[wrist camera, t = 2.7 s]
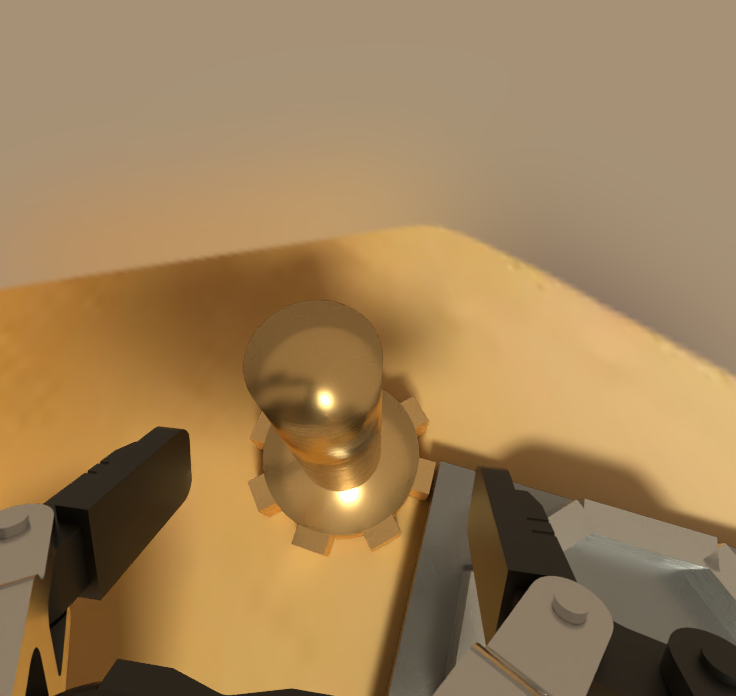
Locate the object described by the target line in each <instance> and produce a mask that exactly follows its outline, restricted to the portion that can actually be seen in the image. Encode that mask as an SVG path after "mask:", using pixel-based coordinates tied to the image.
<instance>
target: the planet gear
mask: <svg viewBox="0 0 736 696" xmlns="http://www.w3.org/2000/svg"><path fill="white" fill-rule="evenodd" d="M382 368H383V356H382V347H381V343H380V340H379V337H378V335H377V333H376V331H375V329H374V328H373V326H372V325H371V324H370V322H369V321H368V320H367V319H366V318H365V317H364V316H363V315H361V314H360V313H359V312H357V311H356V310H354V309H352V308H350V307H348V306H346V305H343V304H340V303H337V302H332V301H325V300H311V301H304V302H299V303H295V304H292V305H290V306H287V307H285V308H283V309H281V310H279V311H277V312H276V313H274V314H273V315H271V316H270V317H269V318H267V319H266V320H265V321H264V322H263V323H262V324H261V325H260V326H259V327H258V329H257V330H256V331H255V333H254V334H253V336H252V337H251V339H250V341H249V343H248V346H247V348H246V352H245V355H244V363H243V371H244V378H245V382H246V385H247V388H248V390H249V392H250V394H251V396H252V397H253V398H254V400H255V401H256V403H257V404H258V406H259V407H260V408H261V410H262V412H261V414H260V416H259V419H258V421H257V423H256V425H255V427H254V430H253V432H252V434H251V436H250V440H251V441H252V442H253V443H254V444H255V445H256V446H257V447H258V448H259V449H260V450H263V471H264V473H263V474H262V475H260V476H258V477H256V478H254V479H252V480H250V481H248V484H249V487H250V490H251V492H252V495H253V497H254V500H255V503H256V505H257V508H258V511H259V512H260V513H262V514H264V515H266V516H268V517H270V516H272V515H274V514H276V513H277V512H279V511H281V510H282V511H283V512H284V513H285V514H286V515H287V516H288V517H289V518H291V519H292V520H293V521H294V522H296V523H298V527H297V530H296V533H295V535H294V538H293V541H292V544H294V545H296V546H299V547H302V548H305V549H308V550H310V551H313V552H316V553H319V554H322V555H325V556H328V557H329V554H330V551H331V547H332V544H333V541H334V538H335V539H350V538H355V537H360V536H363V535H364V537H365V539H366V541H367V543H368V545H369V547H370V549H371V551H372V552H373V551H375V550H377V549H378V548H380V547H382V546H383V545H385V544H387V543H389V542H390V541H392V540H394V539H395V538H397V537H399V536H400V534H401V530H400V528H399V526H398V524H397V523H396V521H395V519H394V516H395V515H396V514H397V513H398V512H399V511H400V509H401V508H402V506H403V505H404V503H405V502H406V500H407V498H408V496H411V497H414V498H417V499H420V500H424V501H425V500H426V498H427V496H428V495H429V492H430V487H431V483H432V478H433V474H434V470H435V465H436V462H433V461H430V460H426V459H423V458H419V443H418V438H417V437H418V436H420V435H422V434H423V433H425V432H426V429H427V426H428V422H429V420H428V418H427V417H426V415H425V414H424V412H423V410H422V409H421V407H420V406H419V404H418V402H417V401H416V399H415V398H414V396H413V397H411V398H409V399H407V400H405V401H403V402H401V403H399V402H398V401H397V399H395V398H394V397H393V396H392V395H391V394H389V393H388V392H386V391H385V390H383V389H382Z"/></svg>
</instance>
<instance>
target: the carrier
mask: <svg viewBox="0 0 736 696" xmlns="http://www.w3.org/2000/svg"><path fill="white" fill-rule="evenodd" d="M475 473H476V471H473V470H470V469H466V468H463V467H459V466H456V465H453V464H449V463H446V462H443V461H441V462H440V464H439V465H438V468H437V472H436V477H435V481H434V485H433V490H432V494H431V499H430V503H429V508H428V512H427V517H426V521H425V525H424V530H423V534H422V539H421V543H420V548H419V552H418V557H417V561H416V565H415V570H414V574H413V579H412V583H411V588H410V592H409V597H408V601H407V606H406V610H405V614H404V619H403V623H402V628H401V632H400V637H399V641H398V646H397V650H396V654H395V659H394V663H393V668H392V672H391V677H390V681H389V686H388V690H387V695H386V696H433V694H434V693H435V692H436V690H437V689H438V688H439V687H440V685H441V684H442V683H443V681H444V680H445V679H446V677H447V676H448V675H449V674H450V672H451V671H452V670H453V668H454V667H455V666H456V664H457V663H458V662H459V661H460V659H461V658H462V657H463V655H464V654H465V653H466V652H467V650H468V649H469V648H470V647H471V646H472V645H473V644H475V643H480V644H481V645H482V646H483V647H486V644H485V638H484V632H483V626H482V620H481V614H480V608H479V602H478V596H477V590H476V584H475V578H474V572H473V566H472V560H471V554H470V549H469V543H468V515H469V509H470V503H471V497H472V491H473V485H474V478H475ZM513 484H514V487H515V490H523V491H528V492H529V493H530V494H531V495H532V496H533V497H534V498H535V499H536V500H537V501H538V502H539V503H540V504H541V505H542V506H543V508H544V510H545V513H546V515H547V517H548V519H549V523H550V524H551V526H552V528H553V530H554V532H555V536H556V537H557V539H558V541H559V543H560V545H561V548H562V550H563V552H564V554H565V556H566V559H567V561H568V563H569V565H570V567H571V570H572V572H573V574H574V576H575V578H576V581H577V583H579V584H580V585H582V586H584V587H585V588H587V589H589V590H590V591H591V592H592V593H594V594H595V595H596V596H597V597H598V598H599V599H600V600H601V601H602V602H603V603H604V605H605V606H606V607H607V609H608V610H609V612H610V614H611V617H612V620H613V621H614V622H616V623H618V624H620V625H622V626H624V627H626V628H628V629H630V630H633V631H635V632H638V633H640V634H643V635H645V636H648V637H650V638H653V639H655V640H658V641H660V642H663V643H665V644H667V643H668V640H669V637H670V635H671V633H672V632H673V631H675V630H676V629H679V628H687V627H689V628H697V629H701V630H704V631H707V632H710V633H713V634H715V635H717V636H719V637H721V638H723V639H725V640H727V641H729V642H730V643H732V644H733V645H735V646H736V548H734V547H730V546H728V545H727V544H726V543H722V544H720V543H717V537H714V536H711V535H707V534H704V533H700V532H697V531H694V530H690V529H687V528H683V527H680V526H677V525H673V524H670V523H666V522H663V521H660V520H656V519H653V518H649V517H646V516H643V515H639V514H636V513H632V512H629V511H626V510H622V509H619V508H615V507H612V506H609V505H605V504H602V503H598V502H595V501H591V500H588V499H582V500H579V501H578V500H577V499H576V500H571V499H568V498H564V497H561V496H558V495H554V494H551V493H547V492H544V491H541V490H537V489H534V488H530V487H527V486H524V485H520V484H517V483H514V482H513Z"/></svg>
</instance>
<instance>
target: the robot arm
mask: <svg viewBox="0 0 736 696" xmlns="http://www.w3.org/2000/svg"><path fill="white" fill-rule="evenodd" d="M191 481H192V475H191V457H190V440H189V434H188V432H187V431H186V430H184V429H176V428H168V427H156V428H154V429H153V430H152V431H150V432H149V433H148V434H147V435H145V436H144V437H143V438H141V439H140V440H139V441H137V442H133V443H131V444H129V445H127V446H124V447H122V448H120V449H117V450H115V451H114V452H113V453H111V454H110V455H108V456H107V457H106V458H104V459H103V460H102V461H100V464H96V465H95V466H94V467H92V468H91V469H90V470H88V473H84V474H83V475H81V476H80V477H79V478H77V479H76V480H75V481H73V482H72V483H71V484H69V485H68V486H67V487H65V488H64V489H63V490H61V491H60V492H59V493H57V494H56V495H55V496H53V497H52V498H50V499H49V500H48V501H46V502H45V503H44V504H24V505H18V506H14V507H10V508H7V509H4V510H1V511H0V696H332V695H326V694H320V693H315V692H309V691H303V690H297V689H284V690H274V691H265V692H256V693H247V694H238V695H223V694H220V693H218V692H216V691H214V690H212V689H211V688H209V687H207V686H205V685H203V684H201V683H199V682H198V681H196V680H194V679H192V678H190V677H188V676H186V675H185V674H183V673H181V672H179V671H177V670H175V669H173V668H168V667H163V666H157V665H151V664H145V663H139V662H133V661H128V660H122V659H117V661H116V662H115V663H114V665H113V666H112V668H111V669H110V671H109V672H108V674H107V675H106V676H105V678H104V679H103V681H101V682H95V683H91V684H86V685H82V686H79V687H75V688H72V689H69V690H66V677H67V664H68V651H69V638H70V626H71V611H70V605H71V604H72V603H73V602H74V601H75V600H76V598H77V597H83V598H89V599H96V600H101V599H102V598H103V597H104V596H105V595H106V593H107V592H108V591H109V590H110V589H111V587H112V586H113V585H114V584H115V583H116V582H117V580H118V579H119V578H120V577H121V576H122V574H123V573H124V572H125V571H126V570H127V569H128V567H129V566H130V565H131V564H132V563H133V561H134V560H135V559H136V558H137V557H138V556H139V554H140V553H141V552H142V551H143V550H144V548H145V547H146V546H147V545H148V544H149V543H150V541H151V540H152V539H153V538H154V537H155V535H156V534H157V533H158V532H159V531H160V530H161V528H162V527H163V526H164V525H165V524H166V522H167V521H168V520H169V519H170V518H171V516H172V515H173V514H174V513H175V512H176V511H177V509H178V508H179V507H180V506H181V505H182V503H183V502H184V501H185V499H186V498H187V496H188V493H189V491H190V487H191ZM468 543H469V549H470V554H471V560H472V566H473V572H474V578H475V584H476V590H477V596H478V602H479V608H480V614H481V620H482V626H483V632H484V638H485V644H486V647H483V646H482V645H481V644H480V643H475V644H473V645H472V646H471V647H470V648H469V649H468V650H467V652H466V653H465V654H464V655H463V657H462V658H461V659H460V661H459V662H458V663H457V664H456V666H455V667H454V668H453V670H452V671H451V672H450V674H449V675H448V676H447V677H446V679H445V680H444V681H443V683H442V684H441V685H440V687H439V688H438V689H437V690H436V692H435V693H434V694H433V696H736V646H735V645H733V644H732V643H730V642H729V641H727V640H725V639H723V638H721V637H719V636H717V635H715V634H713V633H710V632H707V631H704V630H701V629H697V628H689V627H687V628H679V629H676V630H675V631H673V632H672V633H671V635H670V637H669V640H668V643H667V644H665V643H663V642H660V641H658V640H655V639H653V638H650V637H648V636H645V635H643V634H640V633H638V632H635V631H633V630H630V629H628V628H626V627H624V626H622V625H620V624H618V623H616V622H614V621H613V620H612V617H611V614H610V612H609V610H608V609H607V607H606V606H605V605H604V603H603V602H602V601H601V600H600V599H599V598H598V597H597V596H596V595H595V594H594V593H592V592H591V591H590V590H589V589H587V588H585V587H584V586H582V585H580V584H579V583H577V581H576V578H575V576H574V574H573V572H572V570H571V567H570V565H569V563H568V561H567V559H566V556H565V554H564V552H563V550H562V548H561V545H560V543H559V541H558V539H557V537H556V536H555V532H554V530H553V528H552V526H551V524H550V523H549V519H548V517H547V515H546V513H545V510H544V508H543V506H542V505H541V504H540V503H539V502H538V501H537V500H536V499H535V498H534V497H533V496H532V495H531V494H530V493H529V492H528V491H523V490H515V487H514V484H513V482H512V479H511V476H510V474H509V471H508V470H507V469H504V468H495V467H487V466H478V467H477V469H476V473H475V478H474V485H473V491H472V497H471V503H470V509H469V515H468ZM65 690H66V691H65Z"/></svg>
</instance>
